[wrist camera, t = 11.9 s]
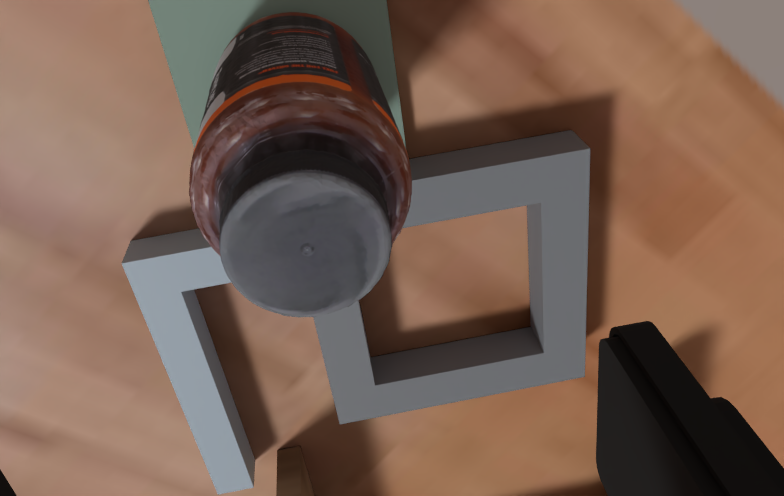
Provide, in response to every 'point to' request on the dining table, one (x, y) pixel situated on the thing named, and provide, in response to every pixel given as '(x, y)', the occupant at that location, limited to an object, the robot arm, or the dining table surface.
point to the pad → (238, 10)
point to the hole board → (546, 281)
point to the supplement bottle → (299, 167)
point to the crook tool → (191, 346)
